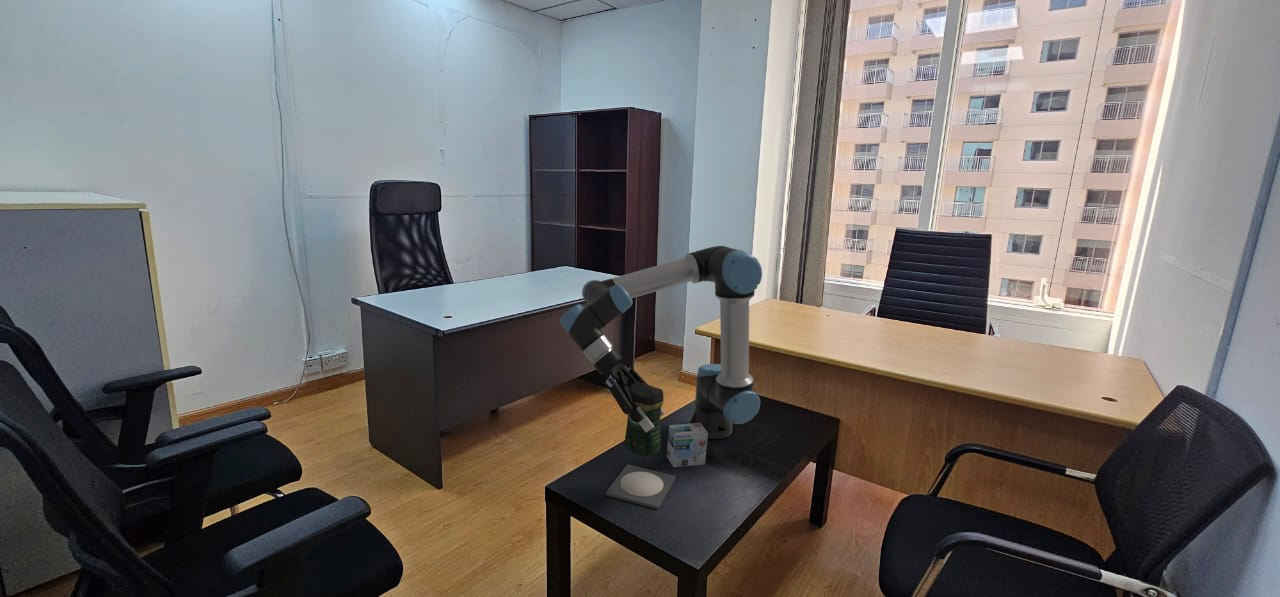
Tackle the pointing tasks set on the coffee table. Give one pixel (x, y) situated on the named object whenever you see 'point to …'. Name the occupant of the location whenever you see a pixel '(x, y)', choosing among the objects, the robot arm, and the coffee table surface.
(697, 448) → the light bulb box
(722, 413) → the robot arm
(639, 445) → the coffee jar
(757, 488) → the coffee table surface
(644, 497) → the marker mat
